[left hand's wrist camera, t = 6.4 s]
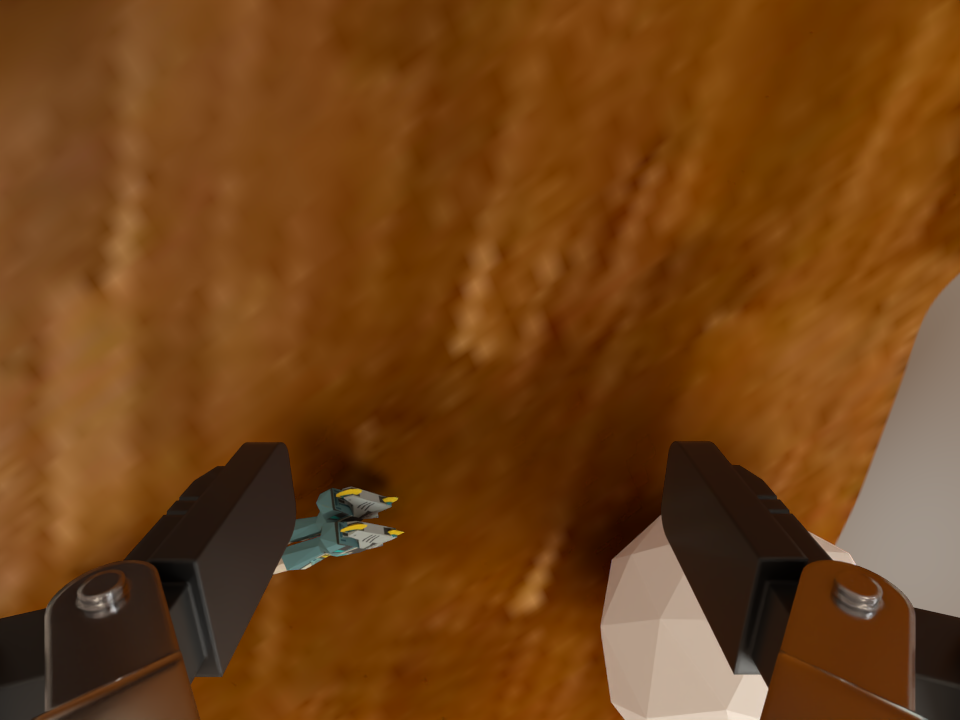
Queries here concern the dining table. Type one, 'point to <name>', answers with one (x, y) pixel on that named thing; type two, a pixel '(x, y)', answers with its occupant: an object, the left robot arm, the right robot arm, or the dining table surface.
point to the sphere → (670, 641)
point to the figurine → (338, 528)
